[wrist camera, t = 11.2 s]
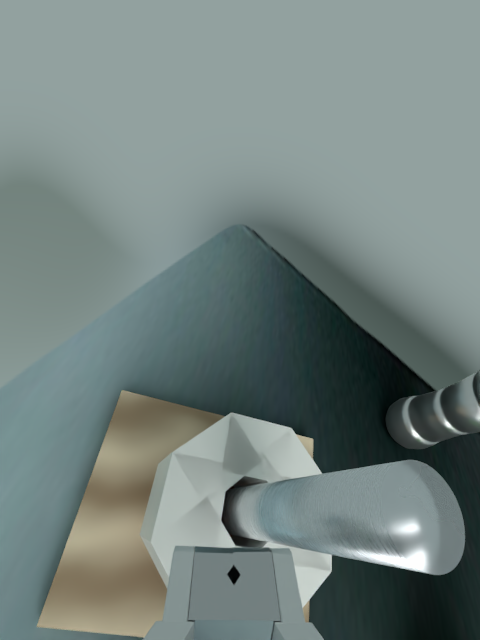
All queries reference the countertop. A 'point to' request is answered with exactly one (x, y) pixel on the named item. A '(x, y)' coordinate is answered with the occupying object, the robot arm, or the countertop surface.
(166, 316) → the countertop surface
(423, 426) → the plastic bottle
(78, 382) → the countertop surface
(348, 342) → the countertop surface
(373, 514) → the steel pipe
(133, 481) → the oak base board
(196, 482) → the sleeve
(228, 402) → the countertop surface
